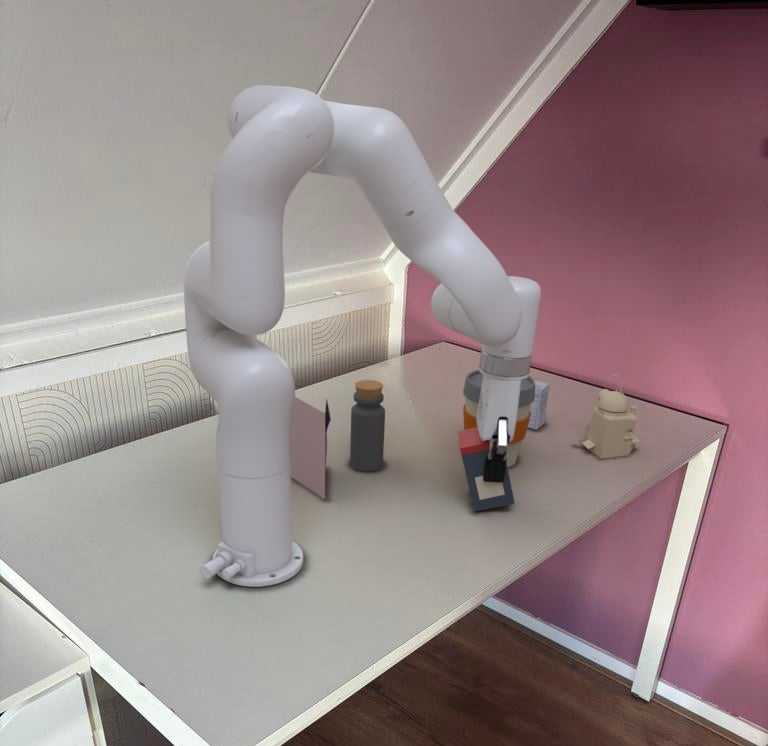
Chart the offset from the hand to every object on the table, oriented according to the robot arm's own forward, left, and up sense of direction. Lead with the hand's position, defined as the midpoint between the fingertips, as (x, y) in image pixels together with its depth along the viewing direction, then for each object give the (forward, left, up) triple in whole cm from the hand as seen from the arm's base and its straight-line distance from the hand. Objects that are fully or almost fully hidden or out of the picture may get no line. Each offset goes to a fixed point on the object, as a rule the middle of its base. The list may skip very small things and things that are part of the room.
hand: (490, 470), depth 128 cm
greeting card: (-11, +28, -6) cm, 31 cm away
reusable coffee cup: (+17, +7, -6) cm, 19 cm away
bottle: (+1, +24, -6) cm, 25 cm away
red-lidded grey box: (-2, +3, 0) cm, 4 cm away
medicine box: (+36, +9, -6) cm, 38 cm away
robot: (+34, -9, -6) cm, 36 cm away
